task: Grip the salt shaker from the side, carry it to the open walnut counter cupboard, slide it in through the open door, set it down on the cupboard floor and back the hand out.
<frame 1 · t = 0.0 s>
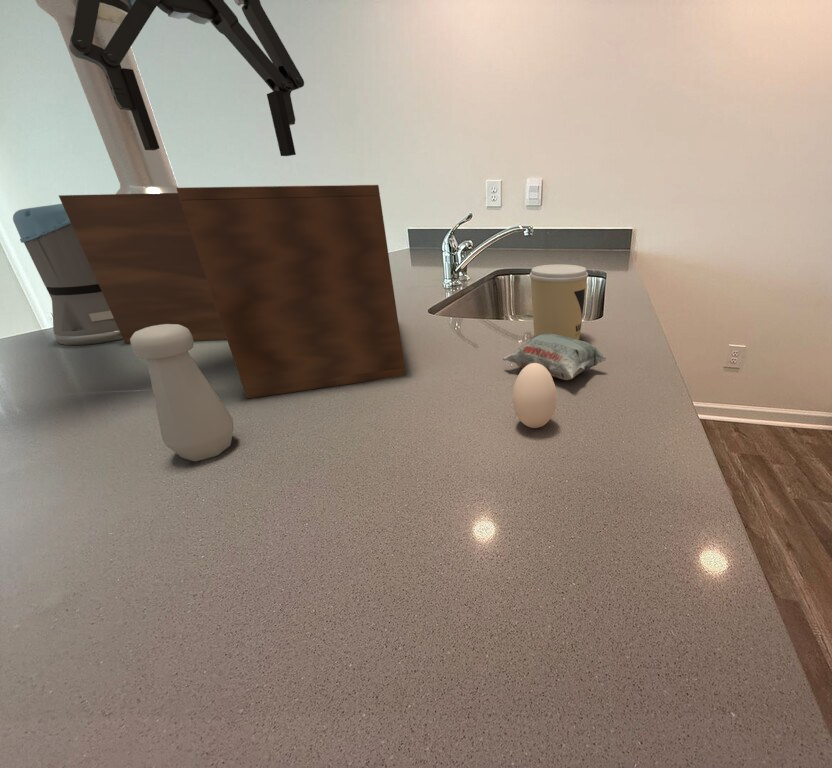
hand: (227, 153, 46), 28 cm above the countertop, tool pointing down, fingers open, 13 cm apart
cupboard: (335, 354, 66), on the countertop
cupboard door: (189, 269, 71), point 12 cm above the countertop, hinge at 105.0°
egg: (534, 427, 45), on the countertop
coffee cup: (556, 340, 71), on the countertop
salt shaker: (208, 450, 42), on the countertop
packaged food: (553, 374, 58), on the countertop
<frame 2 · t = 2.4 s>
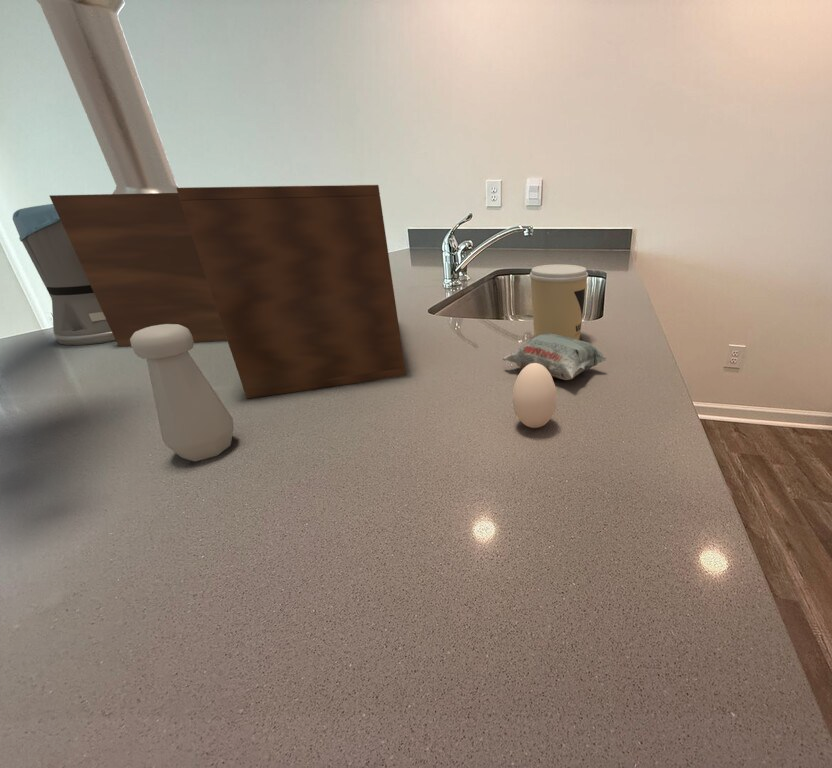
cupboard door: (185, 270, 71), point 12 cm above the countertop, hinge at 101.6°, touching arm
everything else where it was.
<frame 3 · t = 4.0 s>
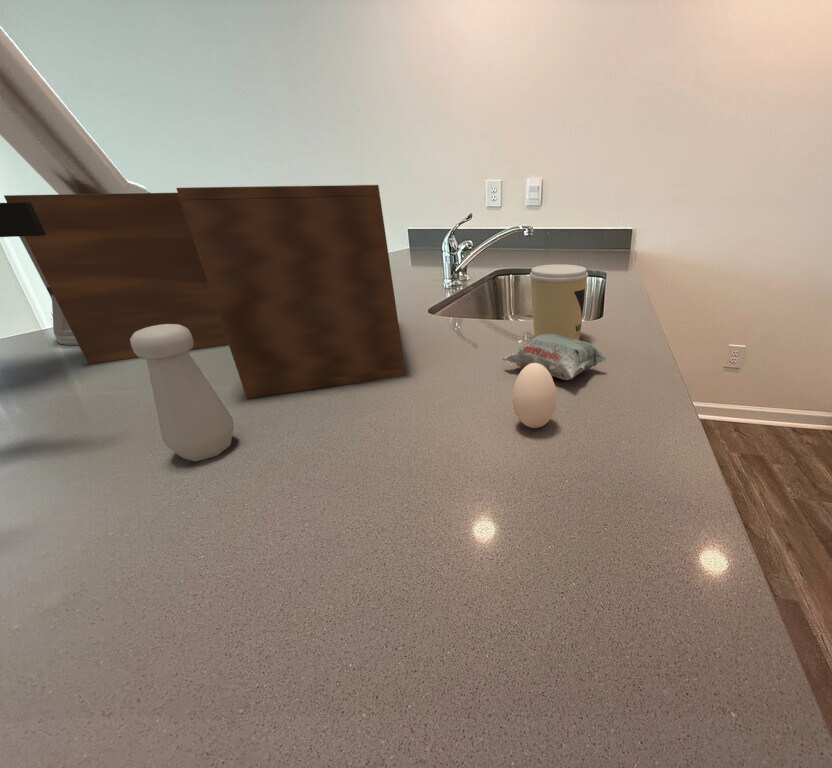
cupboard door: (167, 274, 66), point 12 cm above the countertop, hinge at 82.5°
everything else where it was.
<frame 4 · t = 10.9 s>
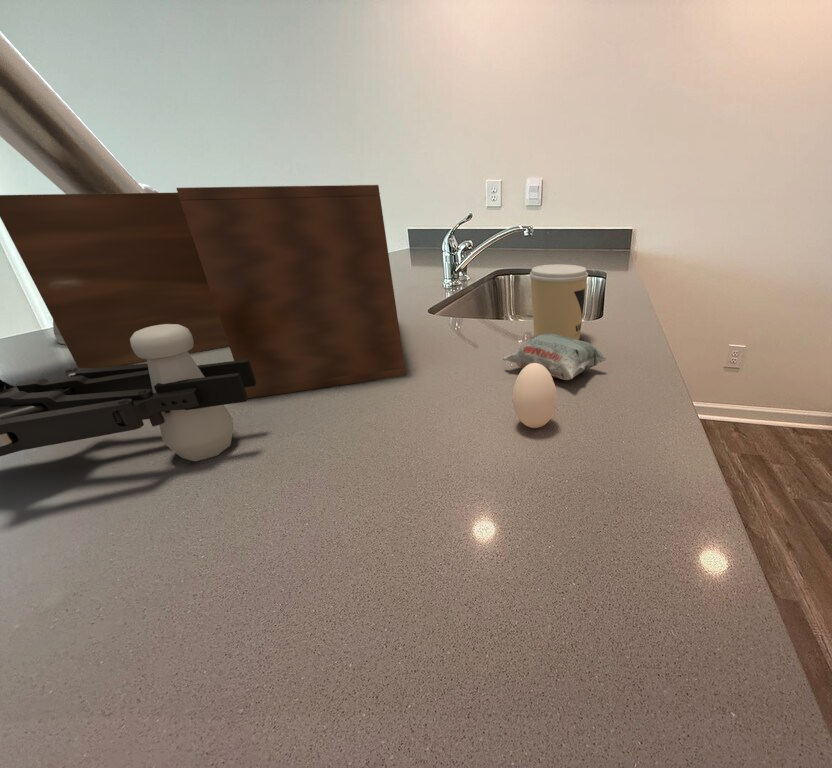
hand: (246, 379, 40), 7 cm above the countertop, tool horizontal, fingers closed on salt shaker, 3 cm apart
cupboard door: (162, 276, 65), point 12 cm above the countertop, hinge at 73.7°
salt shaker: (208, 450, 42), on the countertop, touching gripper
everything else where it was.
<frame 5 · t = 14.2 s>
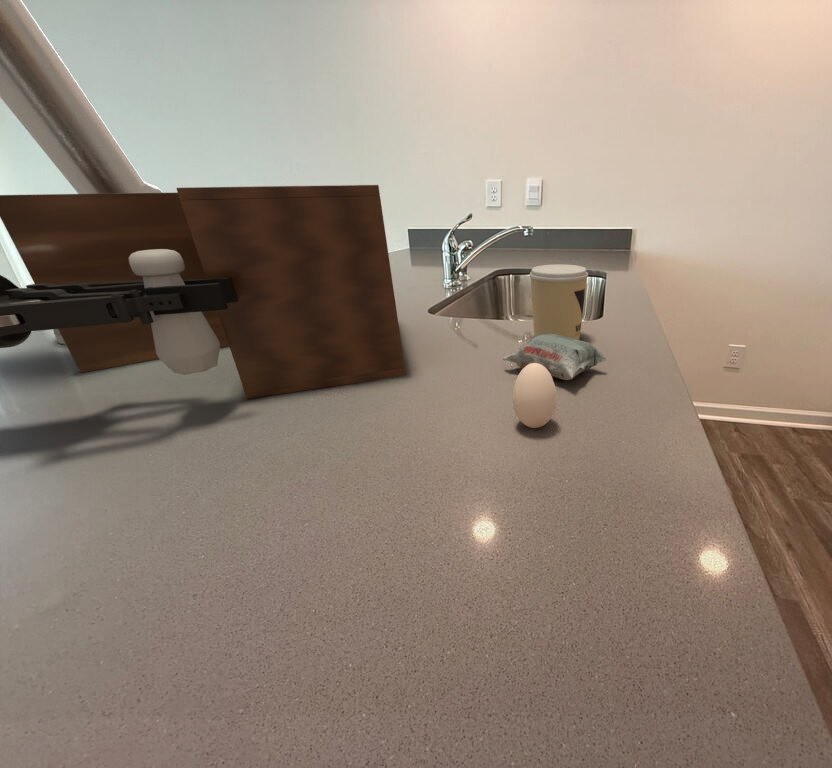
hand: (228, 292, 45), 14 cm above the countertop, tool horizontal, fingers closed on salt shaker, 3 cm apart
salt shaker: (197, 369, 47), point 5 cm above the countertop, touching gripper
everything else where it was.
when the fingers open (10 cm above the countertop, at t = 21.9 s): salt shaker stays where it is, resting on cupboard.
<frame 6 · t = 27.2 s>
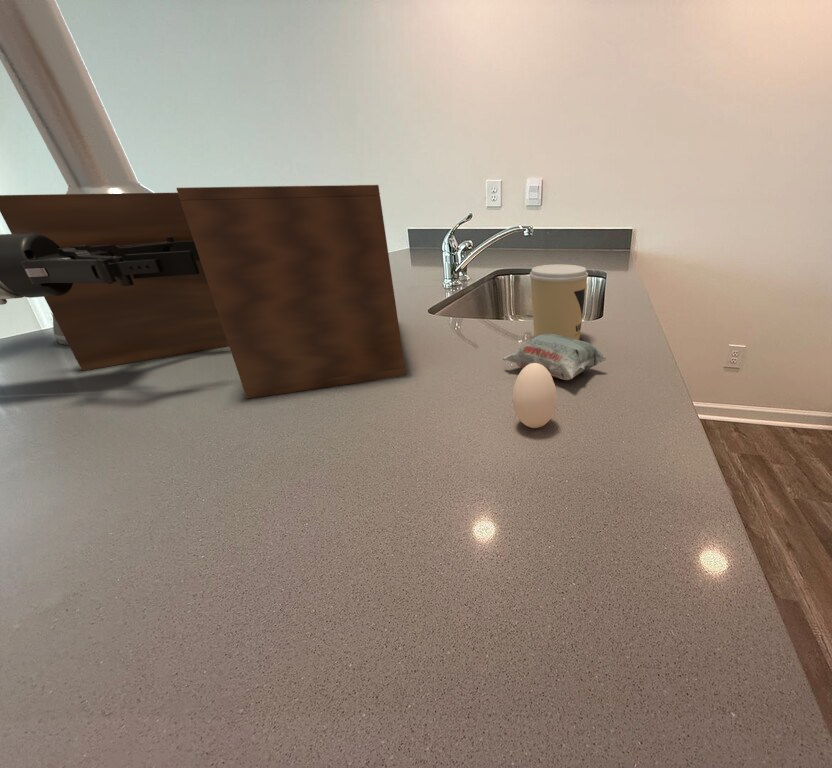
hand: (212, 254, 56), 16 cm above the countertop, tool horizontal, fingers open, 13 cm apart
cupboard door: (163, 276, 65), point 12 cm above the countertop, hinge at 75.7°, touching gripper
salt shaker: (334, 348, 66), point 1 cm above the countertop, touching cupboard
everything else where it was.
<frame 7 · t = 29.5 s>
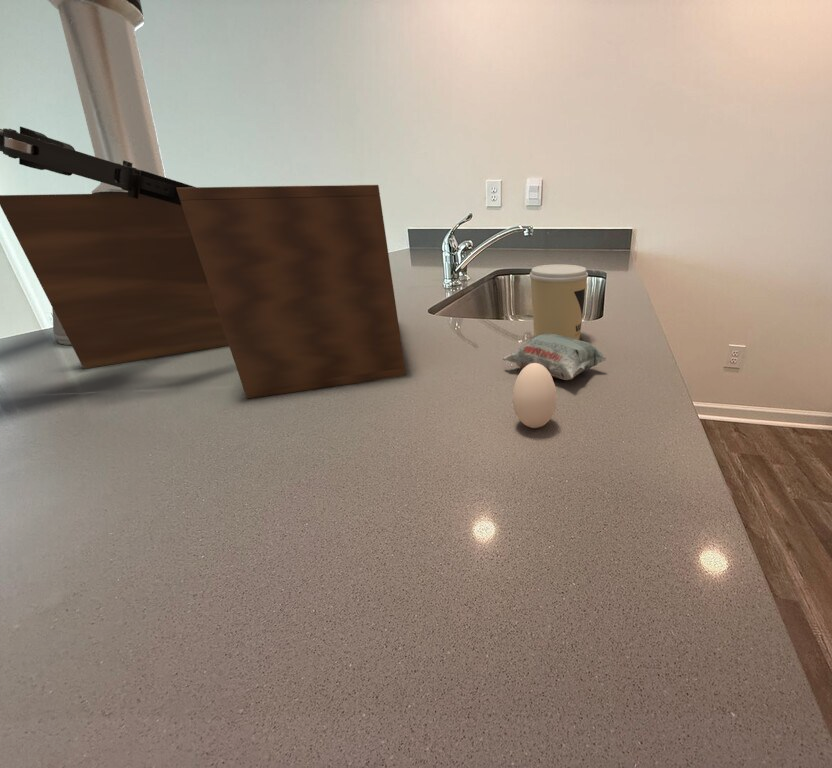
hand: (199, 198, 57), 23 cm above the countertop, tool tilted 70°, fingers open, 11 cm apart
cupboard door: (164, 275, 66), point 12 cm above the countertop, hinge at 77.8°
everything else where it was.
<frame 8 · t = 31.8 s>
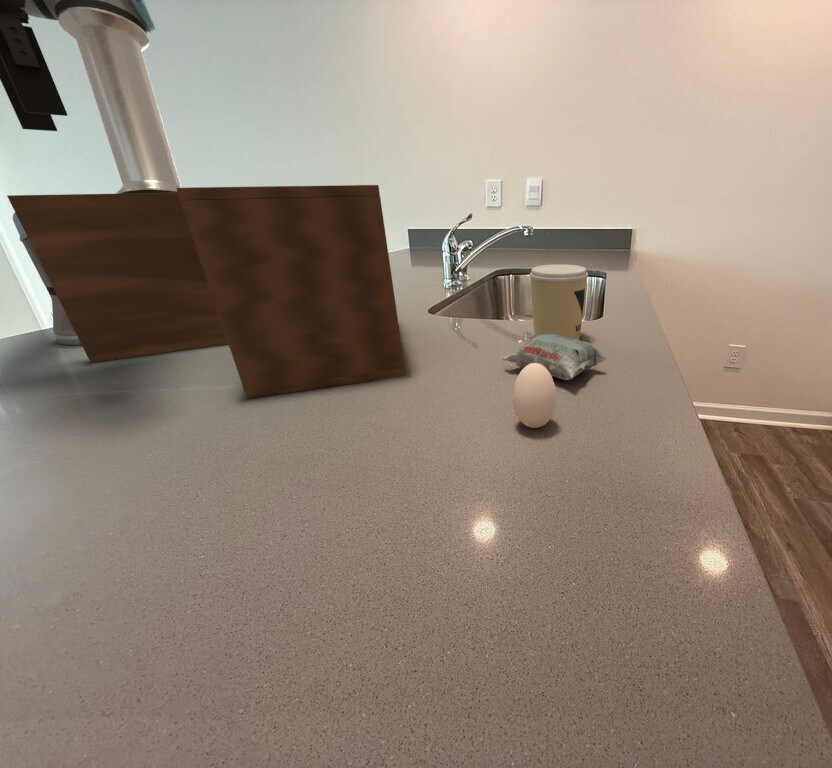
hand: (43, 123, 42), 31 cm above the countertop, tool pointing down, fingers open, 13 cm apart
cupboard door: (168, 274, 67), point 12 cm above the countertop, hinge at 84.1°
everything else where it was.
at the end: salt shaker inside the target area in the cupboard (0.1 cm from its centre), point 1.0 cm above the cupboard's base; salt shaker tilted 0°; the gripper is holding nothing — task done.
